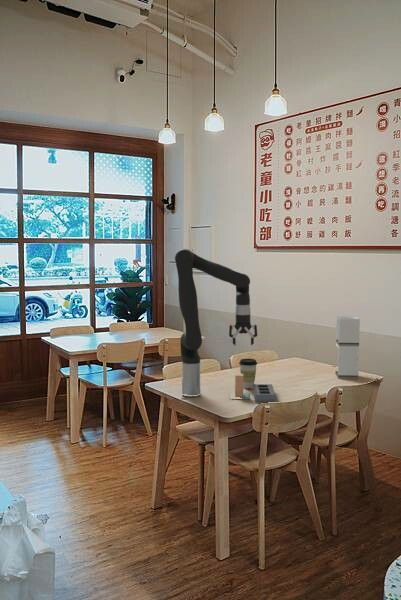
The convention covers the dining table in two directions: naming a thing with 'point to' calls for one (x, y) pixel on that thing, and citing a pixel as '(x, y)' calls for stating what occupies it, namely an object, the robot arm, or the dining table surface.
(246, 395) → the green mat
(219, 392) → the dining table surface
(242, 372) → the coffee cup
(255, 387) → the grey socket block
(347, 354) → the white banded pillar
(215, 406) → the dining table surface
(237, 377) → the terracotta peg
